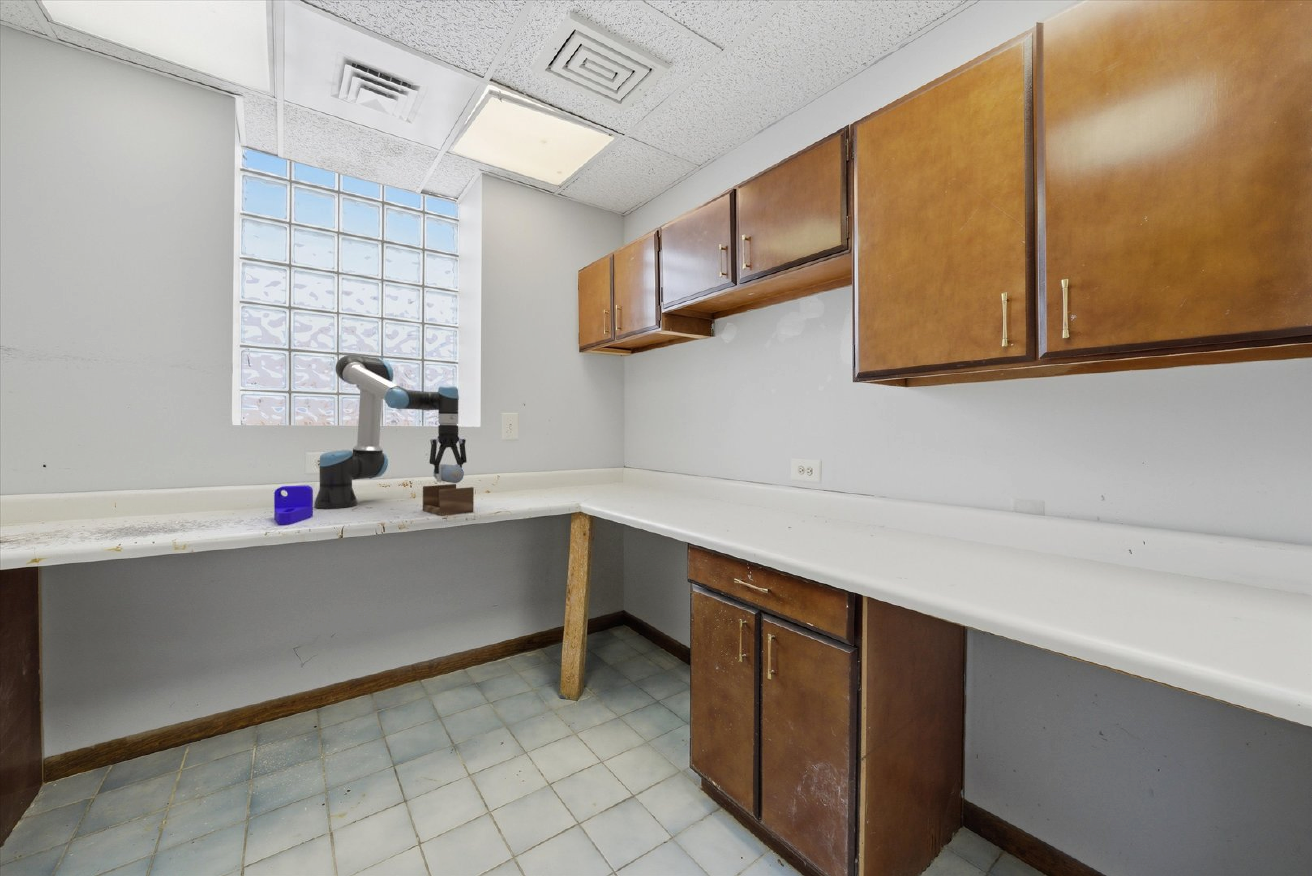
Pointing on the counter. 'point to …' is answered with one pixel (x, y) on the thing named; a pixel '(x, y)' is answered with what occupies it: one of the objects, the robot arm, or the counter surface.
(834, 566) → the counter surface
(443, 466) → the towel roll
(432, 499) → the cradle
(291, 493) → the bracket
